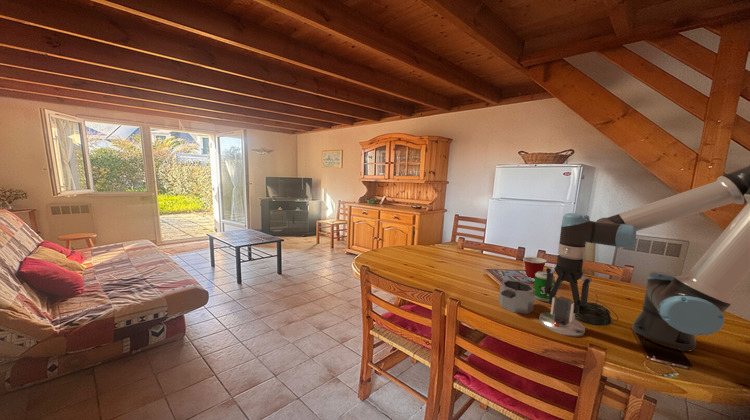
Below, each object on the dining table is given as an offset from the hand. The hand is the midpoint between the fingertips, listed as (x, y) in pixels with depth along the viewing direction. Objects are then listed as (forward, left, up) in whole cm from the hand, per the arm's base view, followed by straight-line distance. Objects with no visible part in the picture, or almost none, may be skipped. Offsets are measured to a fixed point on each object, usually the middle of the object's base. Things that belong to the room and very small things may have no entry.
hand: (562, 316), depth 99 cm
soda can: (+14, -18, -3) cm, 23 cm away
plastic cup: (+27, -37, -3) cm, 46 cm away
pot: (+17, 0, -3) cm, 17 cm away
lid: (0, 0, -3) cm, 3 cm away
